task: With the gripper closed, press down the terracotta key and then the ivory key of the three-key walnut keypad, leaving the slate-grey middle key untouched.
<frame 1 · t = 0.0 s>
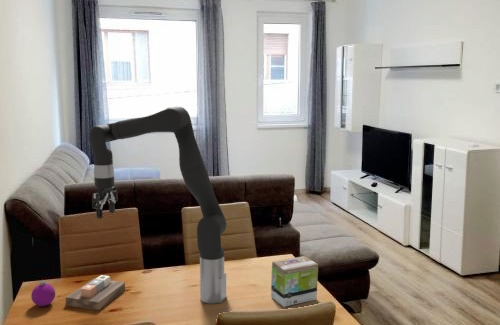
hand: (106, 215, 188), 29 cm above the table, fingers open, 8 cm apart
key ivory: (102, 281, 185), point 5 cm above the table, slide at 0.0 cm
tea box: (294, 299, 181), on the table
keypad board: (96, 297, 181), on the table
key slate: (96, 285, 180), point 5 cm above the table, slide at 0.0 cm
christmas ornament: (44, 305, 175), on the table
key terracotta: (89, 290, 176), point 5 cm above the table, slide at 0.0 cm
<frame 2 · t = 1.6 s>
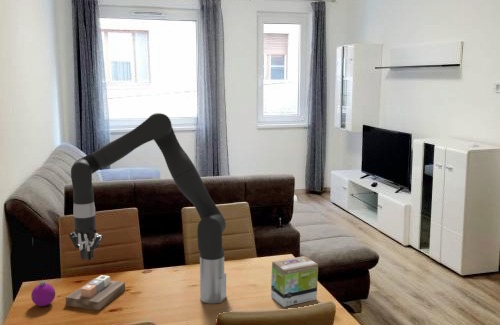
hand: (87, 259, 174), 17 cm above the table, fingers closed
nothing on the table moved.
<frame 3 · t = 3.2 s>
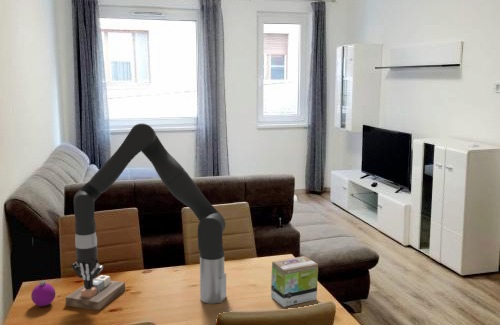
hand: (88, 288, 176), 6 cm above the table, fingers closed
key terracotta: (89, 292, 176), point 4 cm above the table, slide at 0.8 cm, touching gripper
everything else where it was.
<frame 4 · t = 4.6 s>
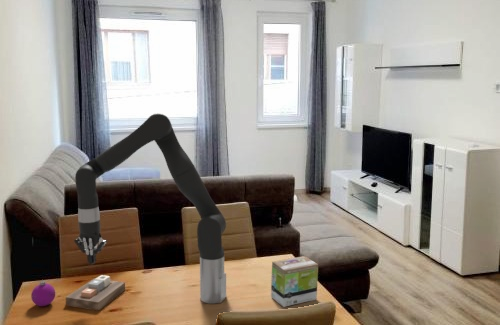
hand: (92, 263, 176), 15 cm above the table, fingers closed
key terracotta: (89, 294, 176), point 3 cm above the table, slide at 1.4 cm
everything else where it was.
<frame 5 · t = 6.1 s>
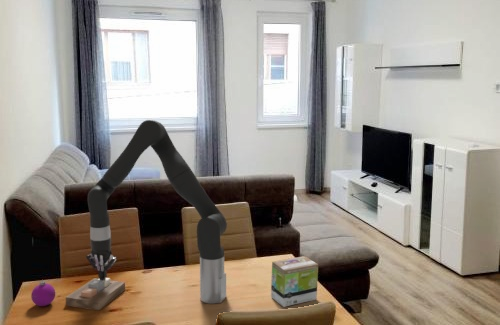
hand: (102, 279, 184), 6 cm above the table, fingers closed
key ivory: (103, 283, 185), point 4 cm above the table, slide at 0.8 cm, touching gripper
everything else where it was.
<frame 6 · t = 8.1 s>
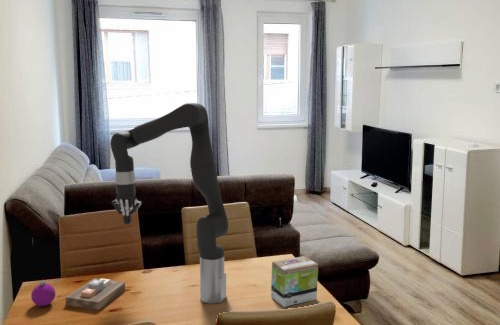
hand: (127, 223, 190), 25 cm above the table, fingers closed
key ivory: (103, 284, 185), point 3 cm above the table, slide at 1.4 cm
everything else where it was.
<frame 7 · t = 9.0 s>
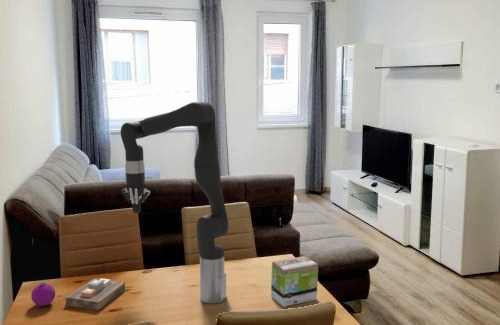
hand: (136, 212, 193), 29 cm above the table, fingers closed
nothing on the table moved.
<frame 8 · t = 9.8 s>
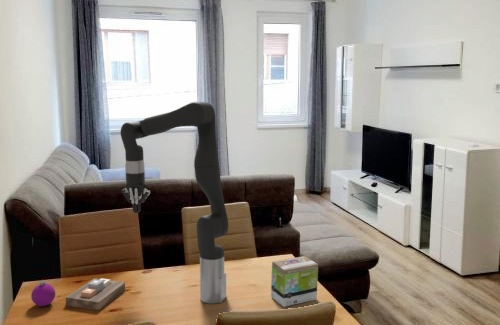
hand: (136, 212, 193), 29 cm above the table, fingers closed
nothing on the table moved.
at the end: key terracotta slide at 1.4 cm; key ivory slide at 1.4 cm; key slate slide at 0.0 cm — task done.
